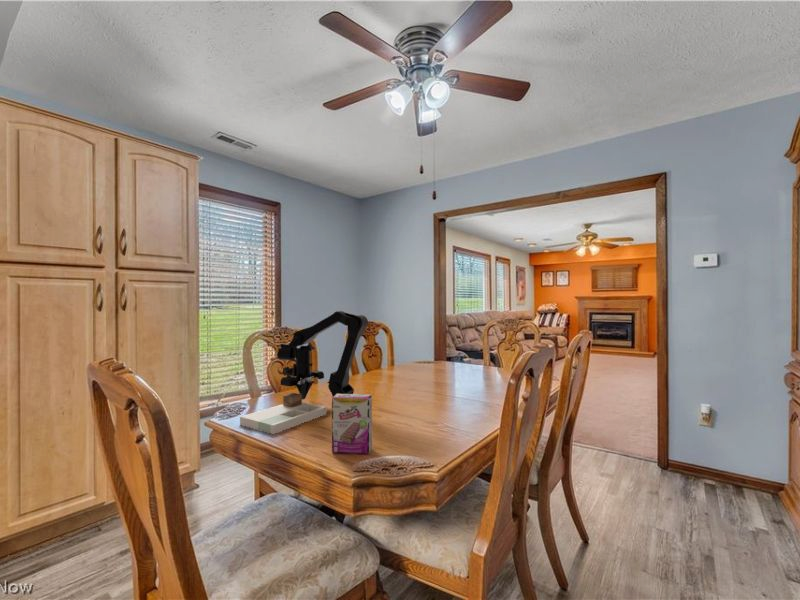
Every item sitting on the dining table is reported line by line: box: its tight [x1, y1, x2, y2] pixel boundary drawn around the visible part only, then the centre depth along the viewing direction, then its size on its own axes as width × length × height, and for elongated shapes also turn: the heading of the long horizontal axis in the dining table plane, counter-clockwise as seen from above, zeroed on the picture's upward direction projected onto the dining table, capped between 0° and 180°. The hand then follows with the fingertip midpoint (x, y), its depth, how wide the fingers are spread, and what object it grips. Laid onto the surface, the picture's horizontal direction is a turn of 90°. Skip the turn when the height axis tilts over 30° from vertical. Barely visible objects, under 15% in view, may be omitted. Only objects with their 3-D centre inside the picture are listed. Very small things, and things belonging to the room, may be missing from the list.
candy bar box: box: [331, 393, 373, 455], centre depth 112 cm, size 11×5×16 cm, turn 84°
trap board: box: [239, 401, 327, 435], centre depth 142 cm, size 18×25×3 cm
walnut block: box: [282, 392, 303, 407], centre depth 151 cm, size 5×5×4 cm
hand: (303, 399), depth 156 cm, fingers closed
